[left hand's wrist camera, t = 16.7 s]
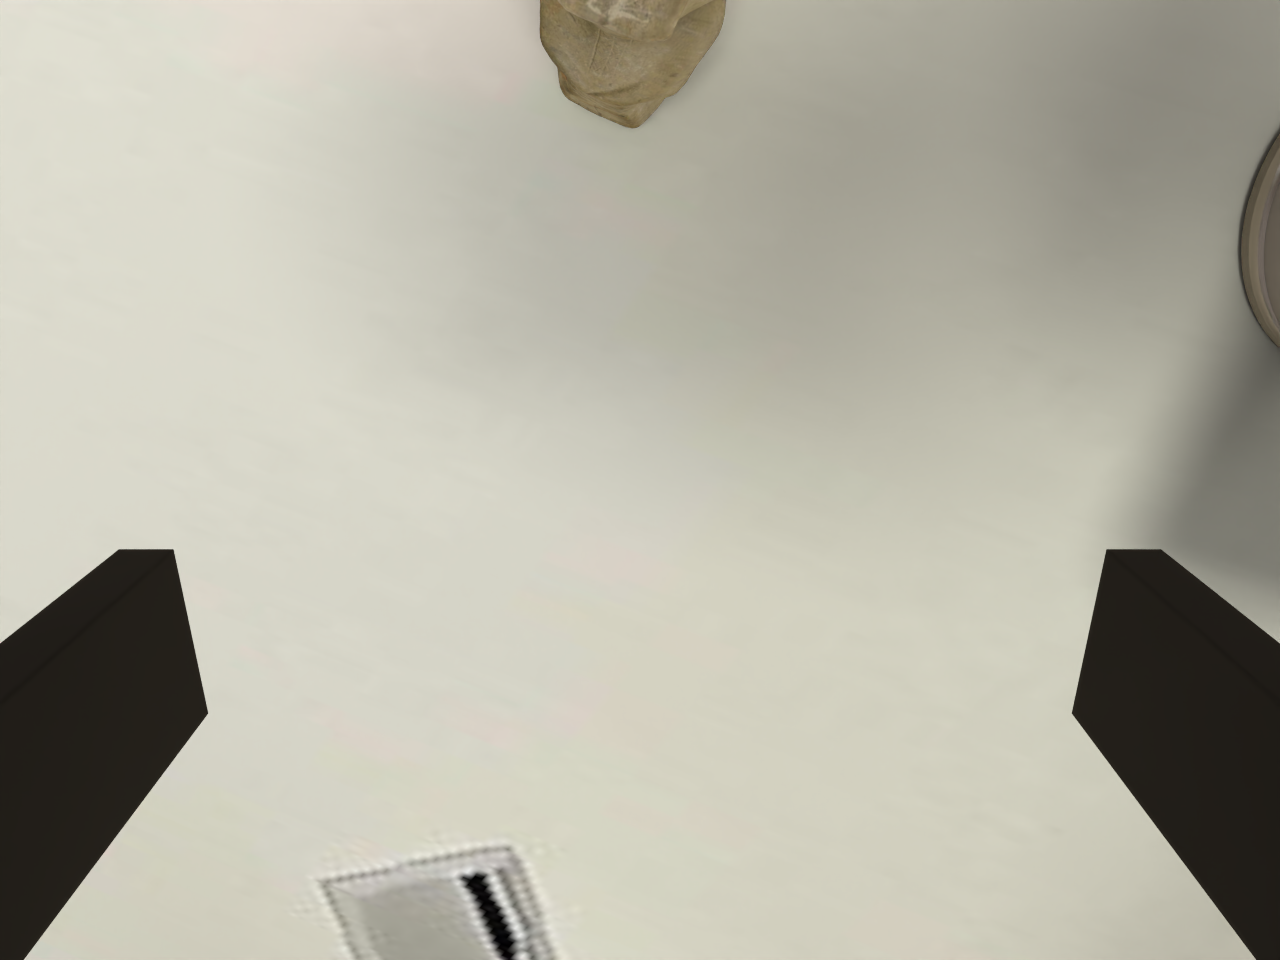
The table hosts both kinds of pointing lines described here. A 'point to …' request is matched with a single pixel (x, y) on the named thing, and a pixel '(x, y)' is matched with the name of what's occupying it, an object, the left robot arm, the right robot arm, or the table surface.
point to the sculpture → (627, 50)
